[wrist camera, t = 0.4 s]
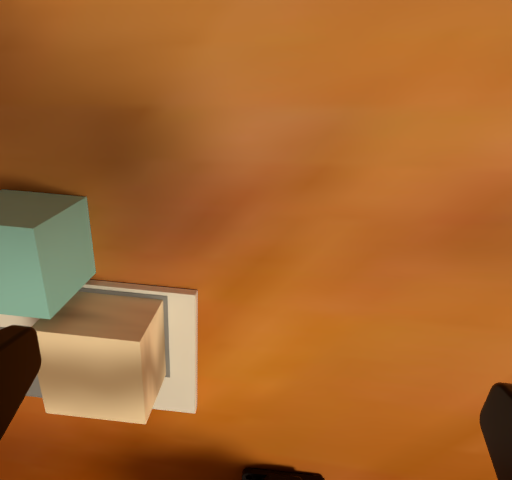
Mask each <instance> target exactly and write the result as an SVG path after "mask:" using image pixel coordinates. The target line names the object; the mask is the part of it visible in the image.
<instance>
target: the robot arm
mask: <svg viewBox="0 0 512 480" xmlns="http://www.w3.org/2000/svg"><path fill="white" fill-rule="evenodd" d="M41 361H42V360H41V353H40V348H39V342H38V336H37V332H36V330H35V329H34V328H33V327H30V326H21V325H10V326H8V327H5V328H3V329H0V440H1V438H2V436H3V435H4V433H5V431H6V429H7V428H8V426H9V424H10V422H11V420H12V419H13V417H14V415H15V413H16V412H17V410H18V408H19V406H20V404H21V403H22V401H23V399H24V397H25V396H26V394H27V392H28V390H29V388H30V387H31V385H32V383H33V381H34V380H35V378H36V376H37V374H38V372H39V370H40V367H41ZM480 426H481V429H482V432H483V435H484V438H485V442H486V445H487V448H488V451H489V454H490V457H491V460H492V463H493V466H494V469H495V472H496V475H497V478H498V480H512V384H509V383H496V384H494V385H493V386H492V388H491V390H490V392H489V394H488V397H487V399H486V401H485V403H484V406H483V408H482V410H481V413H480ZM242 480H325V479H324V478H323V477H320V476H313V475H304V474H295V473H287V472H278V471H270V470H261V469H253V468H246V469H244V470H243V475H242Z"/></svg>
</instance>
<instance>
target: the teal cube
mask: <svg viewBox="0 0 512 480" xmlns="http://www.w3.org/2000/svg"><path fill="white" fill-rule="evenodd" d="M95 273H96V270H95V262H94V253H93V245H92V237H91V229H90V220H89V212H88V204H87V197H83V196H72V195H61V194H50V193H39V192H27V191H16V190H5V189H2V190H0V314H4V315H13V316H23V317H32V318H42V319H51V318H52V317H53V316H54V315H55V314H56V313H57V312H58V311H59V310H60V309H61V308H62V307H63V306H64V305H65V304H66V303H67V302H68V301H69V300H70V299H71V298H72V297H73V296H74V295H75V294H76V293H77V292H78V291H79V290H80V289H81V288H82V287H83V286H84V285H85V284H86V282H87V281H88V280H89V279H90V278H91V277H92V276H93V275H94V274H95Z"/></svg>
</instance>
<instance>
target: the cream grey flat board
mask: <svg viewBox="0 0 512 480" xmlns="http://www.w3.org/2000/svg"><path fill="white" fill-rule="evenodd" d="M79 292H89V293H99V294H109V295H119V296H129V297H139V298H149V299H159V300H163V310H164V335H165V361H166V376H165V378H164V381H163V383H162V386H161V388H160V390H159V393H158V395H157V398H156V400H155V403H154V405H153V408H152V409H159V410H168V411H177V412H186V413H196V409H197V315H198V290H191V289H181V288H170V287H160V286H150V285H140V284H130V283H120V282H109V281H99V280H88V281H87V282H86V284H85V285H84V286H83V287H82V288H81V289H80V290H79ZM39 319H40V318H32V317H23V316H13V315H4V314H0V329H3V328H5V327H8V326H10V325H21V326H30V327H31V326H32V325H34V324H35V323H36V322H37V321H38V320H39ZM26 396H33V397H42V393H41V388H40V384H39V379H38V375H37V376H36V378H35V380H34V381H33V383H32V385H31V387H30V388H29V390H28V392H27V394H26ZM42 398H43V397H42Z"/></svg>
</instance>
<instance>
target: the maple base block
mask: <svg viewBox="0 0 512 480" xmlns="http://www.w3.org/2000/svg"><path fill="white" fill-rule="evenodd" d="M31 327H33V328H34V329H35V330H36V332H37V336H38V342H39V348H40V353H41V360H42V361H41V367H40V370H39V372H38V374H37V375H38V379H39V384H40V388H41V393H42V397H43V402H44V406H45V411H46V413H51V414H60V415H69V416H77V417H86V418H95V419H104V420H113V421H121V422H130V423H139V424H146V423H147V420H148V418H149V415H150V413H151V410H152V408H153V405H154V403H155V400H156V398H157V395H158V393H159V390H160V388H161V386H162V383H163V381H164V378H165V376H166V361H165V335H164V310H163V300H159V299H149V298H139V297H129V296H119V295H109V294H99V293H89V292H79V291H78V292H77V293H76V294H75V295H74V296H73V297H72V298H71V299H70V300H69V301H68V302H67V303H66V304H65V305H64V306H63V307H62V308H61V309H60V310H59V311H58V312H57V313H56V314H55V315H54V316H53V317H52V318H51V319H42V318H40V319H39V320H38V321H37V322H36V323H35V324H34V325H32V326H31Z"/></svg>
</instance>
